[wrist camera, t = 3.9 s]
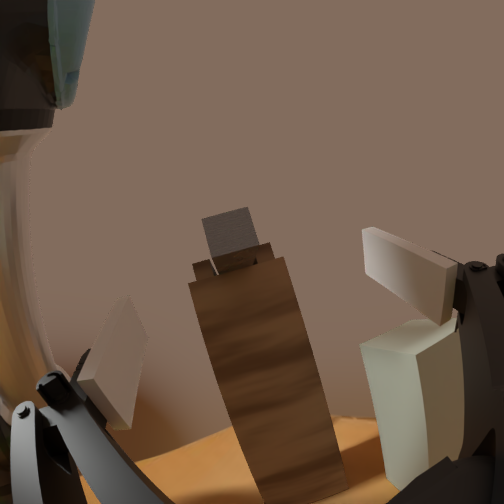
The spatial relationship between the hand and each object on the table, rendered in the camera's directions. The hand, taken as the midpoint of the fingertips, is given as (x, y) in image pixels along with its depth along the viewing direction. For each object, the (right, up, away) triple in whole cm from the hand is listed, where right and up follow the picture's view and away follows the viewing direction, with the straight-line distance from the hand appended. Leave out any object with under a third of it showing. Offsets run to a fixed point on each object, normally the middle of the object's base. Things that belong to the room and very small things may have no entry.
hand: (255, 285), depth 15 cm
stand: (+7, -29, +13) cm, 33 cm away
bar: (-2, -1, +16) cm, 16 cm away
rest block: (+20, -23, +3) cm, 31 cm away
